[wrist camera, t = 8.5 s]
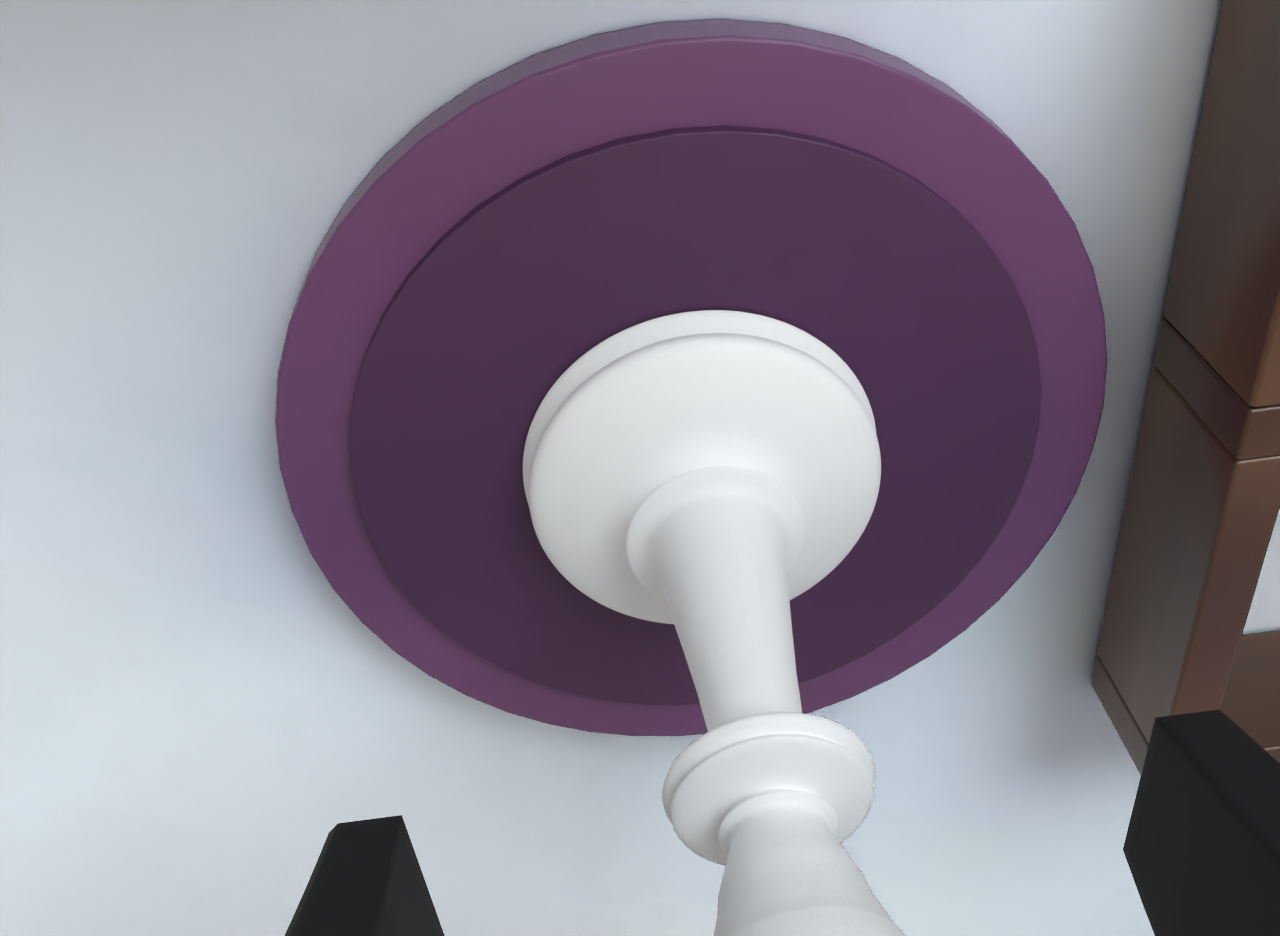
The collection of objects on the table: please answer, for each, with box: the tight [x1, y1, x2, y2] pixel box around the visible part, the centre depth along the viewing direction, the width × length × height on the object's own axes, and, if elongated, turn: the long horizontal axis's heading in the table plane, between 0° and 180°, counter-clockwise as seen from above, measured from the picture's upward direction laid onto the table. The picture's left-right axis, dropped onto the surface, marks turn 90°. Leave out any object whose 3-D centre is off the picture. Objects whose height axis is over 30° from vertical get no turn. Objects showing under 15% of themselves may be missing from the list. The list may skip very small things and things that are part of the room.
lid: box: [275, 19, 1107, 736], centre depth 16 cm, size 12×12×1 cm
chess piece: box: [523, 310, 906, 936], centre depth 12 cm, size 5×5×10 cm
